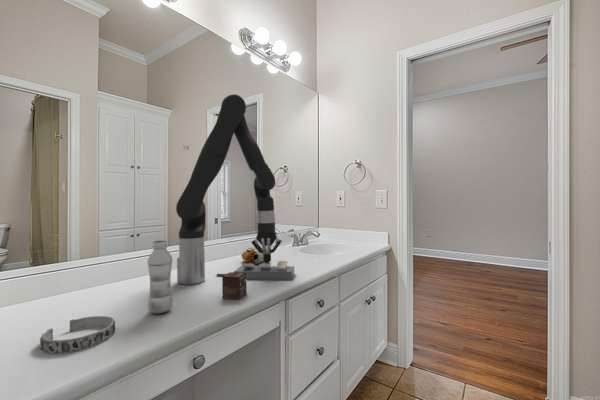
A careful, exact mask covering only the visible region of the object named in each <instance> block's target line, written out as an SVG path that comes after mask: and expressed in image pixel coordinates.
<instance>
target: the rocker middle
mask: <svg viewBox="0 0 600 400" xmlns="http://www.w3.org/2000/svg"><path fill="white" fill-rule="evenodd" d="M258 266H259V267H260V268H270V266H272V263H270V262H269V263H265V262H261V263H258Z"/></svg>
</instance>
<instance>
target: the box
mask: <svg viewBox="0 0 600 400" xmlns="http://www.w3.org/2000/svg"><path fill="white" fill-rule="evenodd" d="M224 274H225V275H224V276H221V278H222V281H221V283H222V284H221V286H222V299H223V300H241V299H243V298H244V297H245V296H246V295H247V292H248V291H247V289H248V288H247V280H246V272H234V271H229V272H227V273H224Z"/></svg>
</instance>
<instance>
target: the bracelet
mask: <svg viewBox="0 0 600 400" xmlns="http://www.w3.org/2000/svg"><path fill="white" fill-rule="evenodd" d="M89 328H90V329H91V328H103V329H101V330H99V331H95V332H92V333H90V334H87V335H83V336H80V337H74V338H70V339H69V338H68V339H59V340H54V337H53V336H54V328H49V329H47V330H46V331H45V332H44V333H42V334H41V337H40V338H39V349H40V350H42V352H45V353H47V354H50V355H54V354H56V355H57V354H64V353H65V354H67V353H73V352H74V353H75V352H77V351H81V350H82V351H83V350H85V349H88V348H92V347H93V346H96V345H99V344H101V343H103V342H106V341H107V340H109V339H110V338H111V337H112V336H113V335H114V334H115V333H116V321H115V319H114V318H113V317H112V316H106V315H93V316H86V317H79V318H76V319H75V318H74V319H70V320H69V332H70V333H71V332H75V331H78V330H83V329H89Z"/></svg>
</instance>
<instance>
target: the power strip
mask: <svg viewBox="0 0 600 400" xmlns="http://www.w3.org/2000/svg"><path fill="white" fill-rule="evenodd" d="M276 268H277V265H276V266H274V265H273V266H272V265H271V266H270V268H260V267H259V265H254V267H253V268H244V266H242V265H240V266H238V268H237V269H235V270H234V271H233V272H246V281H247V280H251V281H252V280H254V281H255V280H257V281H258V280H259V281H261V280H263V281H265V280H267V281H292V280H293V279H294V276H295V265H293V266H292V265H290V266H288V265H287V268H286V270H277V269H276ZM225 274H226V273H217V274H216V275H215V276H216V277H222V276H224V275H225Z"/></svg>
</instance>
